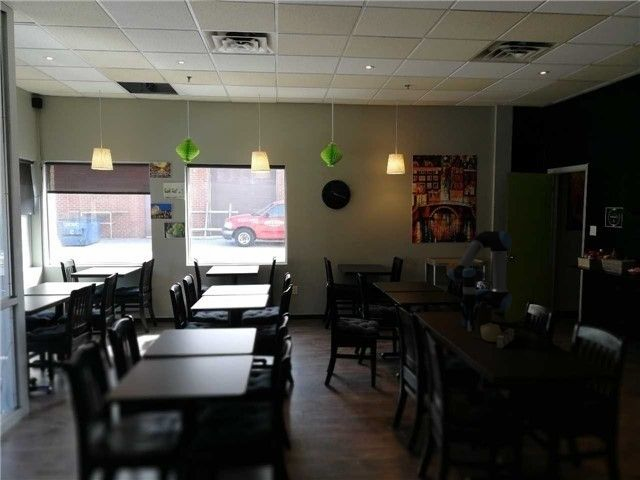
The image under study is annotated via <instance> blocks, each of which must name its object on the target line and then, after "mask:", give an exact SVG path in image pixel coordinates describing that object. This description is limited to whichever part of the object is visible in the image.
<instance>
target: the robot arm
mask: <svg viewBox="0 0 640 480" xmlns="http://www.w3.org/2000/svg"><path fill="white" fill-rule="evenodd" d="M512 245H513V240H512V236H511V234H510V233H509V232H507V231H503V230H498V231H497V230H491V231H490V230H485V231H483V232H480V233H478V234H476V235H475V236H474V237H473V238H472V239H471V241H470V242H469V246H468V248H467V250H466V251H465V253H464V254H463V255H462V257H461V259H460V260H459V262H458V263H457V265H456V266H455V267H451V268H450V269H448V272H447V275H448V278H449V279H450V280H452V281H462V293H463V294H462V301H461V302H460V303H458V306H459V309H460V311H461V318H462V317H463V319H465V320H466V325H467V327H466V328H467V332H471V331H472V328H471V326H473V320H476V317H477V313H478V309H479V307H480V305H478V304H476V300H477V301H479V302H481V301H483V302H488V303H487V305H490V306H492V307H491V310H497V311H508V310H509V309H510V307H511V306H512V302H513V295H512V294H511V293H509V289H508V288H507V253H508V252H509V250H510V249H511V247H512ZM484 249H489V251H490V252H491V253H492V288H491V289H488V288H481V289H476V287H477V286H476V285H477V283H478V282H482V281H483V280H485V277H486V273H485V271H484V270H482V269H475V268H471V266H472V264H473V263H474V261H475V260H476V258H477V256H478V255H479V253H480V252H482V251H483V250H484ZM463 304H464V306H465V309H466V315H465V311H464V307H463ZM474 306H475V307H476V308H475V312H474V316H473V307H474ZM469 310H470V320H469ZM492 319H493V318H492V317H491V323H492V322H493V320H492ZM492 324H493V323H492Z"/></svg>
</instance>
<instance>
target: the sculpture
mask: <svg viewBox="0 0 640 480" xmlns="http://www.w3.org/2000/svg"><path fill="white" fill-rule="evenodd" d="M480 328H481V334H480V336H481V337H482V340H484V341H486V342H491V343H497V337H498V336H499V335H500V334H501V333H502V332H503V331H502V330H501V328H500V325H499V324H496V323H487V324H485V325H482V326H481V327H480Z"/></svg>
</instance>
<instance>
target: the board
mask: <svg viewBox="0 0 640 480" xmlns="http://www.w3.org/2000/svg"><path fill="white" fill-rule="evenodd" d="M501 332H502V333H501V334H500V335H499V336H498V337H497V342H496V348H497V349H503V348H504V347H506V346H507V345H508V344H509V343H511V342H512V341H514V339H515V329H514V328H507V329H505V330H504V331H501Z"/></svg>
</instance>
